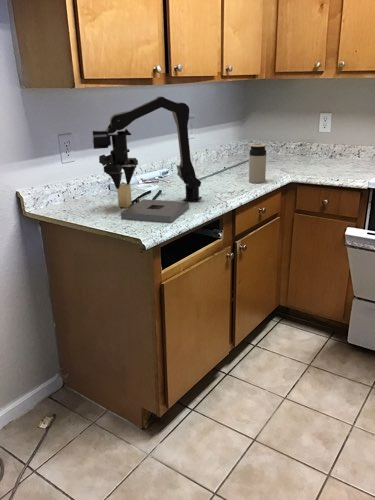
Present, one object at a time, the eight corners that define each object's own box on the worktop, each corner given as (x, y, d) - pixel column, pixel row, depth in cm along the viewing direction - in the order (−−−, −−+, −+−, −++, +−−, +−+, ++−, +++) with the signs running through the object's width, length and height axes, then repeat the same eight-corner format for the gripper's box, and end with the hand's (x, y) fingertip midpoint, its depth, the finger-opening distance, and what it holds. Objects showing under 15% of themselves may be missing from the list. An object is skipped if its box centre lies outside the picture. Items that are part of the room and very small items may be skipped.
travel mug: (252, 184, 213) (252, 146, 207) (246, 180, 221) (247, 144, 214) (267, 182, 215) (268, 145, 208) (261, 179, 222) (263, 143, 216)
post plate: (143, 205, 183) (143, 199, 182) (189, 208, 177) (188, 202, 176) (121, 218, 166) (120, 212, 165) (170, 222, 159) (170, 216, 158)
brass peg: (123, 204, 185) (121, 183, 182) (131, 205, 184) (130, 183, 181) (118, 206, 182) (116, 185, 179) (127, 207, 180) (125, 185, 177)
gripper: (113, 143, 185) (116, 180, 191) (89, 150, 169) (93, 190, 174) (137, 144, 181) (139, 181, 187) (115, 151, 165) (119, 192, 171)
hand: (123, 186), depth 180 cm, fingers open, 9 cm apart
